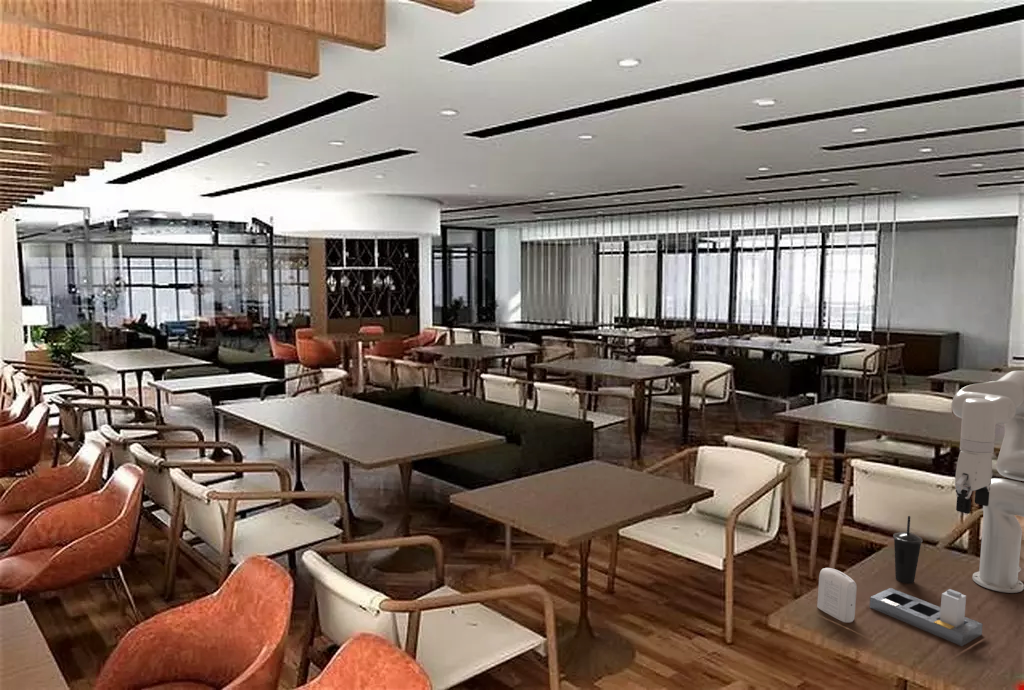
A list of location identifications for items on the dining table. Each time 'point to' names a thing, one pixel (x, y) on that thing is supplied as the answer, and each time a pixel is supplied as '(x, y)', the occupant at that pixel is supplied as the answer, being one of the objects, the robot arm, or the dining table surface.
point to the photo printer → (837, 594)
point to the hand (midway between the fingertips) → (972, 508)
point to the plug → (953, 608)
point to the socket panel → (923, 616)
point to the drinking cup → (906, 555)
